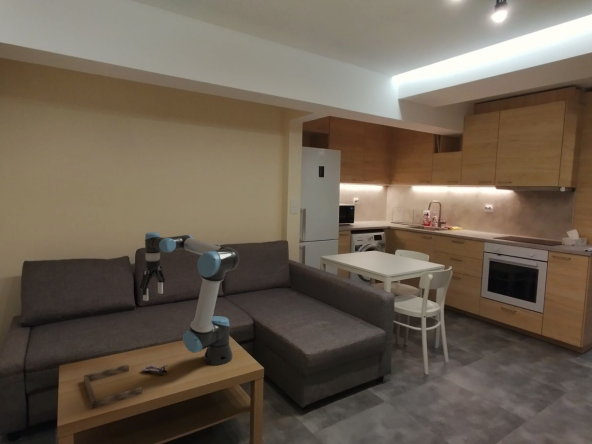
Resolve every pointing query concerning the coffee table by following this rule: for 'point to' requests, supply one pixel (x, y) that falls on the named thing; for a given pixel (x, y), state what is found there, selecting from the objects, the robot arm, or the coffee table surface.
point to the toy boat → (156, 370)
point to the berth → (112, 398)
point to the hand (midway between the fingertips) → (153, 296)
